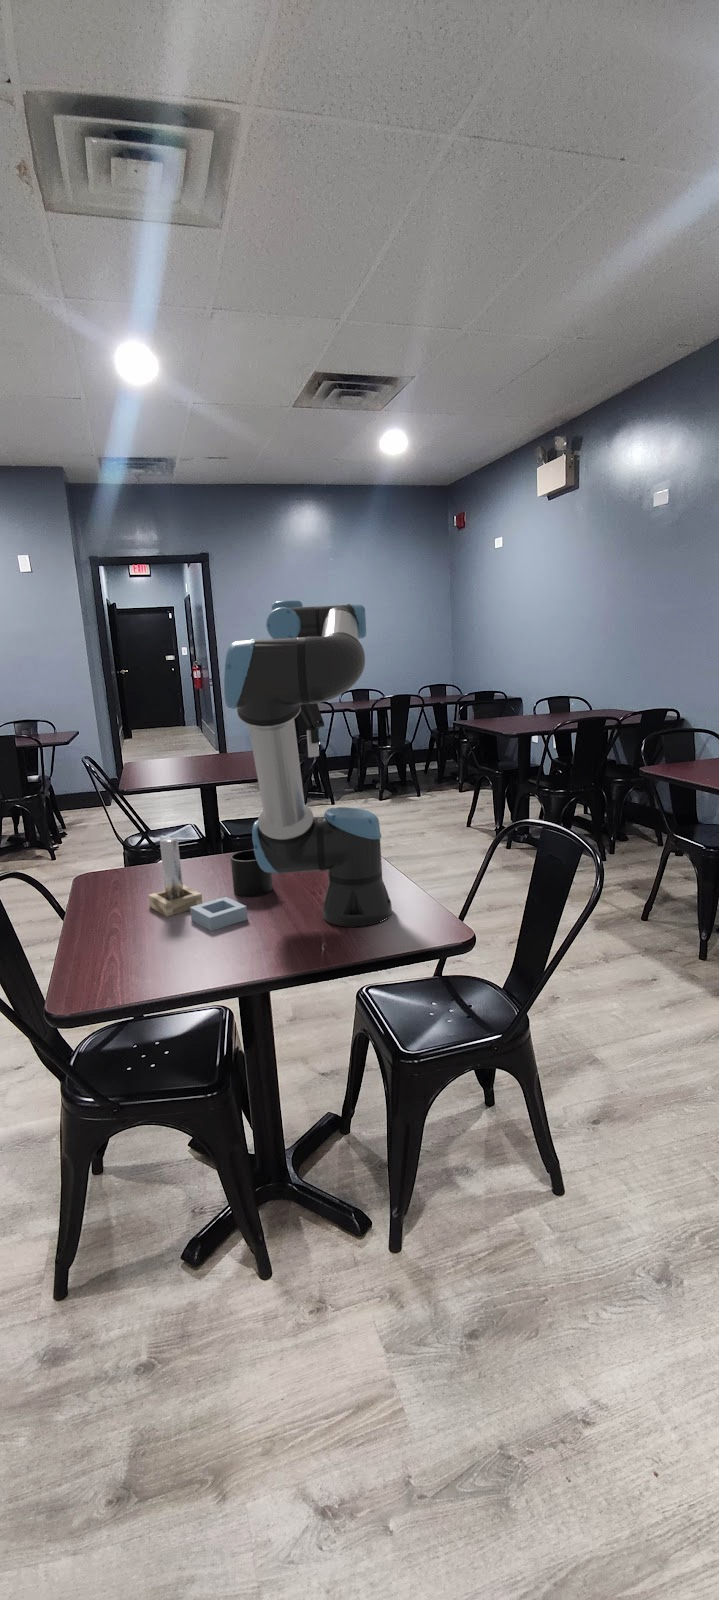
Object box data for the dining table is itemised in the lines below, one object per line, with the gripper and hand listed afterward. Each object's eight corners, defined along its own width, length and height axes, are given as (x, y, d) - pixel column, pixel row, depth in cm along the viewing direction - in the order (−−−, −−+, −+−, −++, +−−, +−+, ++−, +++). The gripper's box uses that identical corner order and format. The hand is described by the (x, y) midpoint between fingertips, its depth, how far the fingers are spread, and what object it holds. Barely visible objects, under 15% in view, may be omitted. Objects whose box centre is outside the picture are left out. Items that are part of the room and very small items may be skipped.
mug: (268, 879, 185) (265, 845, 183) (275, 894, 173) (272, 858, 171) (231, 883, 183) (228, 849, 181) (235, 899, 171) (232, 863, 169)
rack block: (202, 905, 168) (201, 893, 167) (166, 916, 162) (165, 904, 162) (185, 896, 175) (183, 885, 174) (149, 906, 169) (148, 894, 168)
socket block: (247, 919, 158) (246, 906, 158) (211, 931, 153) (209, 917, 152) (227, 908, 165) (225, 896, 165) (191, 919, 160) (190, 907, 159)
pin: (187, 906, 168) (180, 840, 165) (172, 910, 166) (164, 844, 162) (180, 902, 171) (173, 837, 168) (164, 906, 169) (156, 840, 165)
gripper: (335, 666, 167) (340, 756, 172) (275, 666, 186) (281, 748, 190) (309, 668, 162) (315, 761, 167) (250, 668, 181) (257, 751, 186)
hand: (297, 754), depth 179 cm, fingers open, 13 cm apart
